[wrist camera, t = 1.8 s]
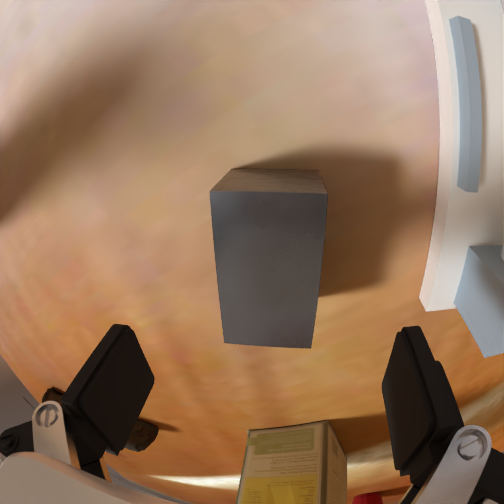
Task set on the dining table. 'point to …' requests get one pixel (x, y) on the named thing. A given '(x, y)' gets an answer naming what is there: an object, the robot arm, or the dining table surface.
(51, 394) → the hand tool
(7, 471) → the robot arm
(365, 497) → the plastic cup
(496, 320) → the shaft stand
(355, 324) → the dining table surface
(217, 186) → the block
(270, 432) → the food packaging
